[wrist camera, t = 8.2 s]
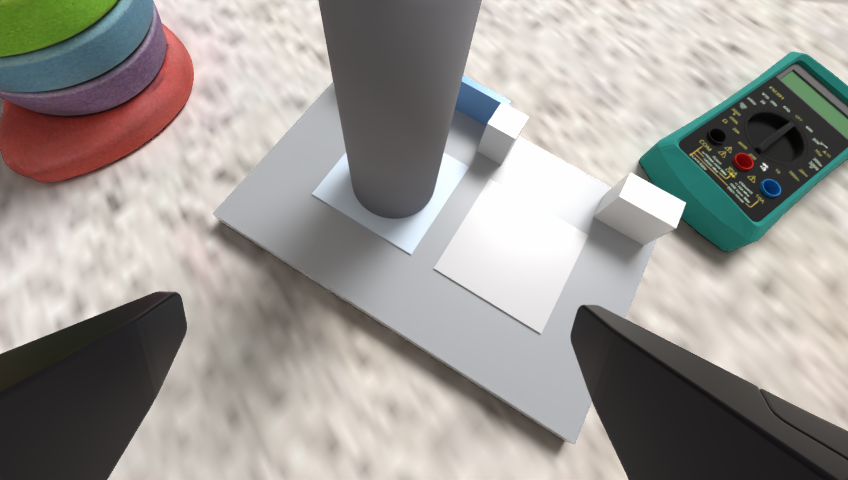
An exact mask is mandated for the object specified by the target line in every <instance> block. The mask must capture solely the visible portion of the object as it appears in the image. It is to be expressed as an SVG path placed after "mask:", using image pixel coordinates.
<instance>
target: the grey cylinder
mask: <svg viewBox="0 0 848 480" xmlns="http://www.w3.org/2000/svg"><path fill="white" fill-rule="evenodd" d="M481 1H482V0H319V5H320V11H321V16H322V22H323V27H324V33H325V38H326V44H327V49H328V55H329V60H330V66H331V71H332V77H333V82H334V88H335V93H336V99H337V105H338V110H339V116H340V121H341V127H342V132H343V138H344V143H345V149H346V154H347V160H348V165H349V171H350V176H351V182H352V187H353V191H354V194H355V196H356V198H357V199H358V201H359V202H360V203H361V205H362V206H363V207H364V208H366V209H367V210H368V211H370V212H371V213H373V214H375V215H378V216H380V217H384V218H390V219H399V218H405V217H409V216H411V215H414V214H416V213H417V212H419V211H420V210H422V209H423V208H424V207H425V206H426V205H427V204H428V203H429V201H430V200H431V198H432V196H433V193H434V190H435V186H436V182H437V178H438V174H439V170H440V166H441V161H442V157H443V153H444V149H445V145H446V141H447V137H448V133H449V129H450V125H451V121H452V117H453V113H454V109H455V105H456V101H457V97H458V93H459V89H460V85H461V81H462V77H463V73H464V69H465V65H466V61H467V57H468V53H469V49H470V45H471V41H472V37H473V33H474V29H475V25H476V21H477V17H478V13H479V9H480V5H481Z"/></svg>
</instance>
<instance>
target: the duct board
mask: <svg viewBox="0 0 848 480" xmlns="http://www.w3.org/2000/svg"><path fill="white" fill-rule="evenodd" d="M510 103H511V101H510V100H508V99H506V98H504V97H502V96H500V95H499V94H497V93H495V92H493V91H491V90H489V89H488V88H486V87H484V86H482V85H480V84H478V83H477V82H475V81H473V80H471V79H469V78H467V77H466V76H464V75H463V77H462V81H461V85H460V89H459V93H458V97H457V101H456V105H455V109H454V113H453V117H452V121H451V125H450V129H449V133H448V137H447V141H446V145H445V149H444V153H443V157H442V161H441V166H440V170H439V174H438V178H437V182H436V186H435V190H434V193H433V196H432V198H431V200H430V201H429V203H428V204H427V205H426V206H425V207H424V208H423V209H422V210H420V211H419V212H417V213H416V214H414V215H411V216H409V217H405V218H399V219H390V218H384V217H380V216H378V215H375V214H373V213H371V212H370V211H368V210H367V209H366V208H364V207H363V206H362V205H361V203H360V202H359V201H358V199H357V198H356V196H355V194H354V191H353V187H352V182H351V176H350V171H349V165H348V160H347V154H346V149H345V143H344V138H343V132H342V127H341V121H340V116H339V110H338V105H337V99H336V93H335V88H334V82H333V83H332V84H331V85H330V86H329V87H328V88H327V89H326V90H325V91H324V92H323V94H322V95H321V96H320V97H319V98H318V99H317V100H316V101H315V102H314V103H313V104H312V106H311V107H310V108H309V109H308V110H307V111H306V112H305V113H304V114H303V115H302V116H301V118H300V119H299V120H298V121H297V122H296V123H295V124H294V125H293V126H292V127H291V129H290V130H289V131H288V132H287V133H286V134H285V135H284V136H283V137H282V138H281V139H280V141H279V142H278V143H277V144H276V145H275V146H274V147H273V148H272V149H271V150H270V151H269V153H268V154H267V155H266V156H265V157H264V158H263V159H262V160H261V161H260V162H259V163H258V165H257V166H256V167H255V168H254V169H253V170H252V171H251V172H250V173H249V174H248V176H247V177H246V178H245V179H244V180H243V181H242V182H241V183H240V184H239V185H238V186H237V188H236V189H235V190H234V191H233V192H232V193H231V194H230V195H229V196H228V197H227V198H226V200H225V201H224V202H223V203H222V204H221V205H220V206H219V207H218V208H217V209H216V210H215V212H214V213H213V215H214V216H216V217H217V218H218V219H219V220H220V221H221V222H222V223H224V224H225V225H227V226H228V227H230V228H232V229H233V230H235V231H236V232H238V233H239V234H241V235H243V236H244V237H246V238H247V239H249V240H250V241H252V242H254V243H255V244H257V245H258V246H260V247H261V248H263V249H265V250H266V251H268V252H269V253H271V254H272V255H274V256H276V257H277V258H279V259H280V260H282V261H283V262H285V263H286V264H288V265H290V266H291V267H293V268H294V269H296V270H297V271H299V272H301V273H302V274H304V275H305V276H307V277H308V278H310V279H312V280H313V281H315V282H316V283H318V284H319V285H321V286H323V287H324V288H326V289H327V290H329V291H330V292H332V293H334V294H335V295H337V296H338V297H340V298H341V299H343V300H345V301H346V302H348V303H349V304H351V305H352V306H354V307H355V308H357V309H359V310H360V311H362V312H363V313H365V314H366V315H368V316H370V317H371V318H373V319H374V320H376V321H377V322H379V323H381V324H382V325H384V326H385V327H387V328H388V329H390V330H392V331H393V332H395V333H396V334H398V335H399V336H401V337H403V338H404V339H406V340H407V341H409V342H410V343H412V344H413V345H415V346H417V347H418V348H420V349H421V350H423V351H424V352H426V353H428V354H429V355H431V356H432V357H434V358H435V359H437V360H439V361H440V362H442V363H443V364H445V365H446V366H448V367H450V368H451V369H453V370H454V371H456V372H457V373H459V374H461V375H462V376H464V377H465V378H467V379H468V380H470V381H472V382H473V383H475V384H476V385H478V386H479V387H481V388H482V389H484V390H486V391H487V392H489V393H490V394H492V395H493V396H495V397H497V398H498V399H500V400H501V401H503V402H504V403H506V404H508V405H509V406H511V407H512V408H514V409H515V410H517V411H519V412H520V413H522V414H523V415H525V416H526V417H528V418H530V419H531V420H533V421H534V422H536V423H537V424H539V425H540V426H542V427H544V428H545V429H547V430H548V431H550V432H551V433H553V434H555V435H556V436H558V437H559V438H561V439H562V440H564V441H566V442H569V443H572V444H575V443H576V440H577V438H578V435H579V433H580V430H581V428H582V425H583V423H584V420H585V418H586V415H587V413H588V410H589V408H590V405H591V403H592V400H591V397H590V395H589V392H588V390H587V387H586V384H585V381H584V378H583V375H582V372H581V370H580V367H579V364H578V361H577V358H576V355H575V352H574V350H573V347H572V344H571V338H570V335H571V330H572V326H573V323H574V319H575V316H576V312H577V310H578V308H579V306H581V305H584V304H585V305H599V306H601V307H603V308H605V309H607V310H609V311H611V312H613V313H615V314H617V315H619V316H621V317H622V318H624V319H625V317H626V315H627V312H628V310H629V307H630V305H631V302H632V300H633V297H634V295H635V292H636V290H637V287H638V285H639V282H640V280H641V277H642V275H643V272H644V270H645V267H646V265H647V262H648V260H649V257H650V255H651V252H652V250H653V247H654V245H655V242H656V240H657V238H659V237H661V236H663V235H665V234H667V233H668V232H670V231H672V230H674V229H676V228H677V225H678V223H679V220H680V218H681V215H682V212H683V210H684V207H685V204H686V202H684V201H682V200H680V199H678V198H676V197H675V196H673V195H671V194H669V193H667V192H665V191H664V190H662V189H660V188H658V187H656V186H655V185H653V184H651V183H649V182H647V181H645V180H644V179H642V178H640V177H638V176H636V175H634V174H633V173H631V172H630V173H629V174H628V175H627V176H625V177H624V178H623V179H622V180H621V181H620V182H618V183H617V184H616V185H615V186H614V187H613V188H612V187H610V186H608V185H606V184H605V183H603V182H601V181H599V180H597V179H596V178H594V177H592V176H590V175H588V174H587V173H585V172H583V171H581V170H579V169H578V168H576V167H574V166H572V165H570V164H568V163H567V162H565V161H563V160H561V159H559V158H558V157H556V156H554V155H552V154H550V153H549V152H547V151H545V150H543V149H541V148H540V147H538V146H536V145H534V144H532V143H531V142H529V141H527V140H525V139H523V138H522V137H520V136H519V135H520V133H521V131H522V129H523V127H524V126H525V124H526V122H527V120H528V118H529V117H528V116H527V115H525V114H523V113H521V112H519V111H517V110H516V109H514V108H512V107H510V106H509V105H510Z"/></svg>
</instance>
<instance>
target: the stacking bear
mask: <svg viewBox="0 0 848 480" xmlns="http://www.w3.org/2000/svg"><path fill="white" fill-rule="evenodd" d="M193 80H194V70H193V64H192V60H191V58H190V55H189V53H188V51H187V49H186V48H185V46H184V45H183V44H182V42H181V41H180V40H179V39H178V38H177V37H176V35H175V34H174V33H173V32H172V31H170V30H169V29H168V28H167V27H166V26H165V25H164V24H162V23H161V20H160V17H159V14H158V11H157V9H156V6H155V4H154V1H153V0H0V97H1V98H3V99H4V109H3V114H2V118H1V122H0V150H1V153H2V156H3V159H4V161H5V163H6V164H7V165H8V166H9V167H10V168H11V169H12V170H14V171H15V172H17V173H18V174H20V175H23V176H30V177H32V178H33V179H35V180H37V181H41V182H54V181H61V180H65V179H68V178H72V177H75V176H78V175H81V174H84V173H87V172H90V171H92V170H95V169H97V168H100V167H102V166H104V165H107V164H109V163H111V162H113V161H115V160H117V159H119V158H121V157H123V156H125V155H127V154H128V153H130V152H132V151H133V150H135V149H136V148H138V147H139V146H141V145H142V144H144V143H145V142H147V141H148V140H149V139H151V138H152V137H153V136H155V135H156V134H157V133H158V132H160V131H161V130H162V129H163V128H164V127H165V126H166V125H167V124H168V123H169V122H170V121H171V120H172V119H173V118H174V117H175V116H176V115H177V114H178V112H179V111H180V110H181V109H182V107H183V106H184V104H185V103H186V101H187V99H188V97H189V95H190V92H191V89H192V85H193Z"/></svg>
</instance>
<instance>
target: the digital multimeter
mask: <svg viewBox="0 0 848 480" xmlns="http://www.w3.org/2000/svg"><path fill="white" fill-rule="evenodd" d="M765 109H767V110H765ZM772 110H773V111H772ZM750 113H751V114H750ZM783 114H784V115H783ZM747 116H748V117H747ZM788 117H789V118H790V119H789V118H788ZM711 119H712V120H711ZM792 120H793V121H794V122H795V123H794V122H793V121H792ZM708 121H709V122H708ZM705 123H706V124H705ZM798 126H799V127H800V128H799V127H798ZM698 128H699V129H698ZM695 130H696V131H695ZM802 131H803V132H802ZM692 132H693V133H692ZM803 133H804V134H803ZM805 137H806V138H805ZM682 139H683V140H682ZM806 139H807V140H806ZM807 143H808V144H807ZM807 151H808V152H807ZM847 158H848V86H847V85H846V84H845V83H844V82H842V81H841V80H840V79H839V78H838V77H836V76H835V75H834V74H833V73H831V72H830V71H829V70H827V69H826V68H825V67H824V66H822V65H821V64H820V63H818V62H817V61H816V60H814V59H813V58H812V57H810V56H809V55H807V54H803V53H797V52H790V53H789V54H788V55H786V56H785V57H784V58H782V59H781V60H780V61H779V62H777V63H776V64H775V65H773V66H772V67H771V68H770V69H768V70H767V71H766V72H764V73H763V74H762V75H760V76H759V77H758V78H757V79H755V80H754V81H752V82H751V83H750V84H748V85H747V86H745V87H744V88H742V89H741V90H740V91H738V92H737V93H735V94H734V95H733V96H731V97H730V98H728V99H727V100H725V101H724V102H722V103H721V104H719V105H718V106H716V107H714V108H713V109H711V110H710V111H708V112H706V113H705V114H703V115H702V116H700V117H699V118H697V119H695V120H694V121H692V122H691V123H689V124H687V125H685V126H684V127H682V128H680V129H679V130H677V131H675V132H674V133H672V134H670V135H668V136H667V137H665V138H663V139H662V140H660V141H659V142H658V143H656V144H655V145H654V146H653V147H652V148H651V149H650V150H649V151H648V152H646V153H645V154H644V155H643V156H642V157H641V159H640V164H641V165H642V167H643V168H644V170H645V172H646V173H647V175H648V176H649V178H650V180H651V181H652V183H653V184H654V185H655V186H656V187H658V188H660V189H662V190H664V191H665V192H667V193H669V194H671V195H673V196H675V197H676V198H678V199H680V200H682V201H684V202H686V204H685V207H684V210H683V212H682V215H681V218H682V219H683V220H684V221H685V222H687V223H688V224H689V225H690V226H691V227H693V228H694V229H695V230H696V231H697V232H698V233H700V234H701V235H702V236H704V237H705V238H706V239H708V240H709V241H711V242H712V243H713V244H715V245H716V246H717V247H719V248H720V249H721V250H723V251H726V252H729V251H732V250H734V249H737V248H739V247H742V246H745V245H747V244H750V243H752V242H755V241H757V240H759V239H760V238H761V237H762V236H763V235H764V234H765V233H766V232H767V230H768V229H769V228H770V227H771V226H772V225H773V224H774V223H775V222H776V221H777V220H778V219H779V218H780V217H781V216H782V215H783V214H784V213H786V212H787V211H788V210H789V209H790V208H791V207H792V206H793V205H794V204H795V203H796V202H797V201H798V200H799V199H801V198H802V197H803V196H804V195H805V194H806V193H807V192H808V191H809V190H810V189H811V188H812V187H813V186H814V185H816V184H817V183H818V182H819V181H820V180H822V179H823V178H824V177H825V176H827V175H828V174H829V173H830V172H831V171H833V170H834V169H835V168H836V167H838V166H839V165H840V164H841V163H842V162H844V161H845V160H846V159H847Z"/></svg>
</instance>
